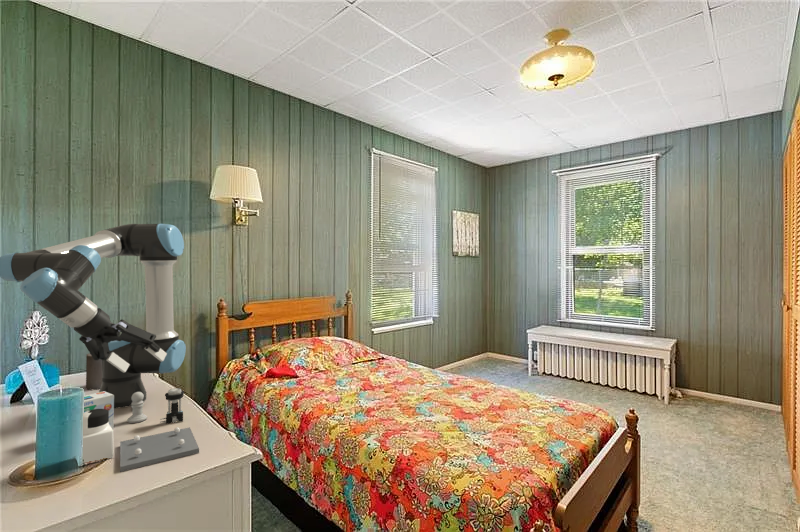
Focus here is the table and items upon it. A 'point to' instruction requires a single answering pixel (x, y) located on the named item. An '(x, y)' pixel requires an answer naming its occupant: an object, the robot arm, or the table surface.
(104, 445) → the medicine bottle
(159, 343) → the robot arm
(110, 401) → the light bulb box
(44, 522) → the table surface
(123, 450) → the pin tray
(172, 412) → the push button
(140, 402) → the chess piece
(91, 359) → the pillar candle
